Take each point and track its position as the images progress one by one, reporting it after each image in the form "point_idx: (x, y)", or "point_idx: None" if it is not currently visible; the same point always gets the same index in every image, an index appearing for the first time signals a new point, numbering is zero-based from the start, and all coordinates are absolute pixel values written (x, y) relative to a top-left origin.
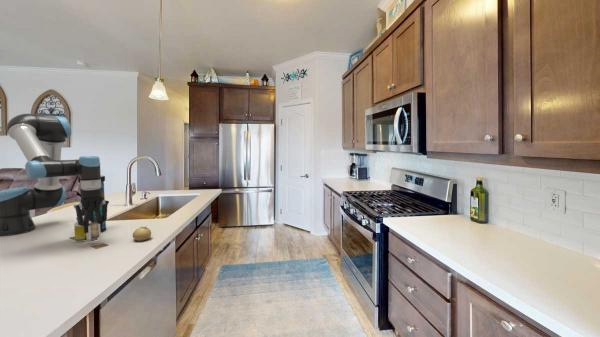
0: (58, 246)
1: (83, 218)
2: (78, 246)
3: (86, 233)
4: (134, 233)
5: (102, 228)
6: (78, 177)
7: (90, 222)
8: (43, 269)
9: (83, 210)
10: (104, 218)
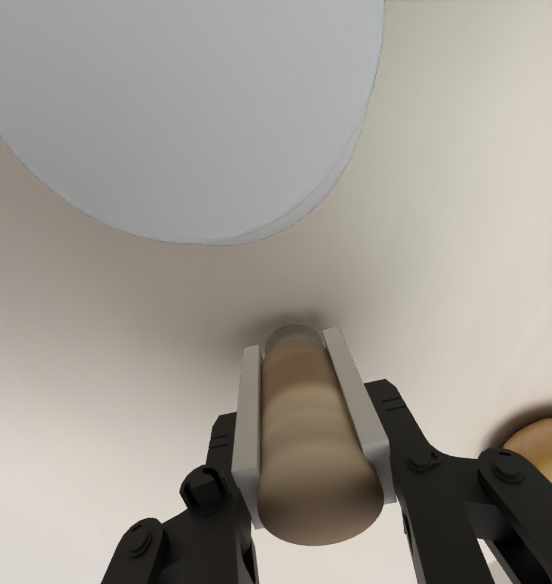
0: (36, 193)
1: (199, 241)
2: (190, 315)
3: (240, 385)
4: None
5: None
6: None
7: (345, 166)
8: (57, 549)
9: None
10: (509, 567)
